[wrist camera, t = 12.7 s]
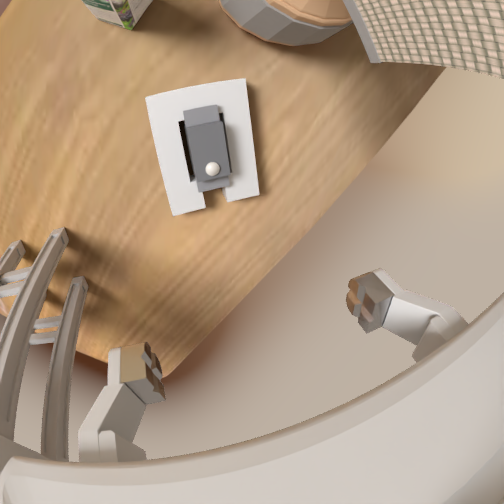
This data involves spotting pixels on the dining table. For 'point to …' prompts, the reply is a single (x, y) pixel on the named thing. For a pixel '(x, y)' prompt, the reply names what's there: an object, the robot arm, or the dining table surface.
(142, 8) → the syrup box
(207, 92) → the white u-shaped block
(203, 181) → the servo
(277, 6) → the desk lamp
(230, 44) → the dining table surface
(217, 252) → the dining table surface
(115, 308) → the dining table surface
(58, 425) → the stool
